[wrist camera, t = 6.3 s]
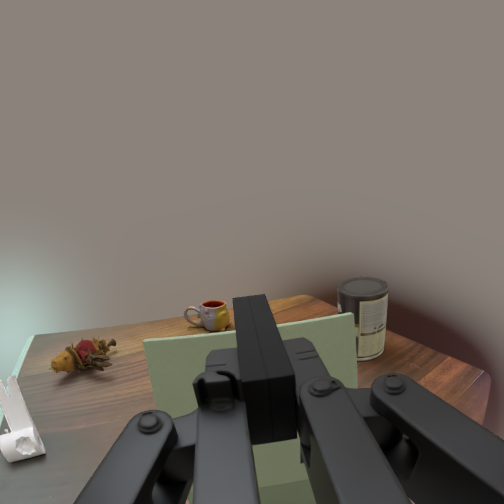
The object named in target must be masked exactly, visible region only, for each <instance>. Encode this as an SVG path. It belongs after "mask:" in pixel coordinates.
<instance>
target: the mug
mask: <svg viewBox="0 0 504 504" xmlns="http://www.w3.org/2000/svg"><path fill="white" fill-rule="evenodd" d="M199 308H200V310H199V309H197V308H196V307H188V308H186V309H185V311H184V317H185V319H186V320H187V321H188V322H190V323H191V324H193V325H196V326H201V327H205V328H206V329H207V330H209V331H224V330H225V328H226V327H227V326H228V324H229V314H228V311H227V308H226V303H225V302H223V301H218V300H210V301H206V302H204V303H202V304H200V307H199ZM191 309H192V310H195V311H197V312H198V314H197V317H198V318H201V321H193V320H191V319H190V318H189V317H188V315H187V311H188V310H191Z"/></svg>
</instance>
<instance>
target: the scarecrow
mask: <svg viewBox="0 0 504 504" xmlns="http://www.w3.org/2000/svg"><path fill="white" fill-rule="evenodd" d="M98 339H99V337H98ZM83 340H84V339H83ZM83 340H82V341H81V342H79V343H78V345H76V347H75V348H74V347H73V343H72V344H71V345H72V346H70V347H66V348H65V351H62V352H61V353H60V354H59V356H58V357H57V358H55V359H53V360H52V361H51V366H52V369H53V370H54V371H56V373H58V372H60V371H66V372H68V373H71V372H73V371H74V369H75V368H74V367H75V365H76V367H79V366H80V367H79V368H83V369H86V368H87V367H94V368H95V369H97V370H100V371H104V369H103V368H102V367H108V366H111V365H112V364H110V363H107V362H103V361H104V360H109V358H107V357H105V356H103V355H106V353H107V352H108V351H110V350H109V346H111V345H113V346H116V342H115V340H114V339H112V340H111V341H110V342H109V344H108V345H106V344H107V343H106V341H105V340H104V339H103V340H101V341H100V339H99V341H98V340H97V339H96V340H94V339H91V340H84V341H83ZM105 343H106V344H105ZM71 347H72V349H71ZM99 359H100V360H103V361H98V360H99ZM83 363H85V364H86V363H87V364H89V366H87V367H85V366H84V365H85V364H84V365H83ZM74 364H75V365H74ZM90 365H92V366H90ZM81 366H82V367H81ZM50 369H51V368H50ZM52 369H51V370H52ZM78 372H79V371H78Z"/></svg>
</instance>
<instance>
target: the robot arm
mask: <svg viewBox="0 0 504 504" xmlns="http://www.w3.org/2000/svg"><path fill="white" fill-rule="evenodd" d="M233 309H234V319H235V330H236V340H237V347H236V348H228V349H218V350H212V351H211V352H210V353H209V354H208V356H207V357H206V364H205V372H203V373H201V374H199V375H198V376H197V377H196V378H195V379H194V381H193V383H192V385H193V389H194V393H195V396H196V400H197V404H198V408H197V409H196V410H194V411H193V412H191V413H189V414H186V415H184V416H180V417H176V418H173V419H172V417H171V416H170V415H169V414H168V413H166V412H164V411H160V410H148V411H144V412H141V413H139V414H137V415H135V416H134V417H133V418H132V419H131V420H130V421H129V422H128V424H127V425H126V427H125V428H124V430H123V431H122V433H121V434H120V436H119V437H118V438H117V440H116V441H115V443H114V444H113V446H112V447H111V449H110V450H109V452H108V453H107V455H106V456H105V458H104V459H103V460H102V462H101V463H100V465H99V466H98V468H97V469H96V471H95V472H94V474H93V475H92V477H91V478H90V480H89V481H88V483H87V484H86V486H85V487H84V488H83V490H82V491H81V493H80V494H79V496H78V497H77V499H76V500H75V502H74V503H73V504H185V502H186V500H187V497H188V495H189V492H190V489H191V487H192V484H193V504H261V501H260V495H259V488H258V481H257V475H256V468H255V461H254V454H253V449H252V445H260V444H267V443H274V442H280V441H286V440H292V439H297V431H298V434H299V438H300V464H302V463H304V464H305V468H306V471H307V474H308V478H309V481H310V484H311V488H312V491H313V494H314V498H315V501H316V504H412V503H411V501H410V499H411V500H412V501H413V502H414V503H415V504H504V440H503V439H501V438H500V437H498V436H497V435H495V434H493V433H492V432H490V431H489V430H487V429H486V428H484V427H483V426H481V425H480V424H478V423H477V422H475V421H474V420H472V419H471V418H469V417H468V416H466V415H465V414H463V413H462V412H460V411H459V410H457V409H456V408H454V407H453V406H451V405H450V404H448V403H447V402H445V401H444V400H442V399H441V398H439V397H438V396H436V395H435V394H433V393H432V392H430V391H429V390H427V389H426V388H424V387H423V386H421V385H420V384H418V383H417V382H415V381H414V380H412V379H411V378H409V377H407V376H405V375H402V374H396V373H392V374H385V375H382V376H379V377H378V378H376V379H375V380H374V382H373V383H372V386H371V388H361V389H355V388H347V387H345V386H344V384H343V383H342V382H341V381H340V380H338V379H336V378H334V377H331V376H330V374H329V372H328V370H327V368H326V367H325V365H324V363H323V361H322V359H321V358H320V357H319V354H318V352H317V351H316V349H315V347H314V345H313V343H312V342H311V341H309V340H307V339H306V338H304V337H300V338H294V339H288V340H282V338H281V336H280V333H279V330H278V328H277V325H276V322H275V320H274V317H273V314H272V312H271V309H270V307H269V304H268V301H267V299H266V296H265V294H262V295H254V296H246V297H238V298H233ZM408 497H409V498H410V499H409V498H408Z"/></svg>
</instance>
